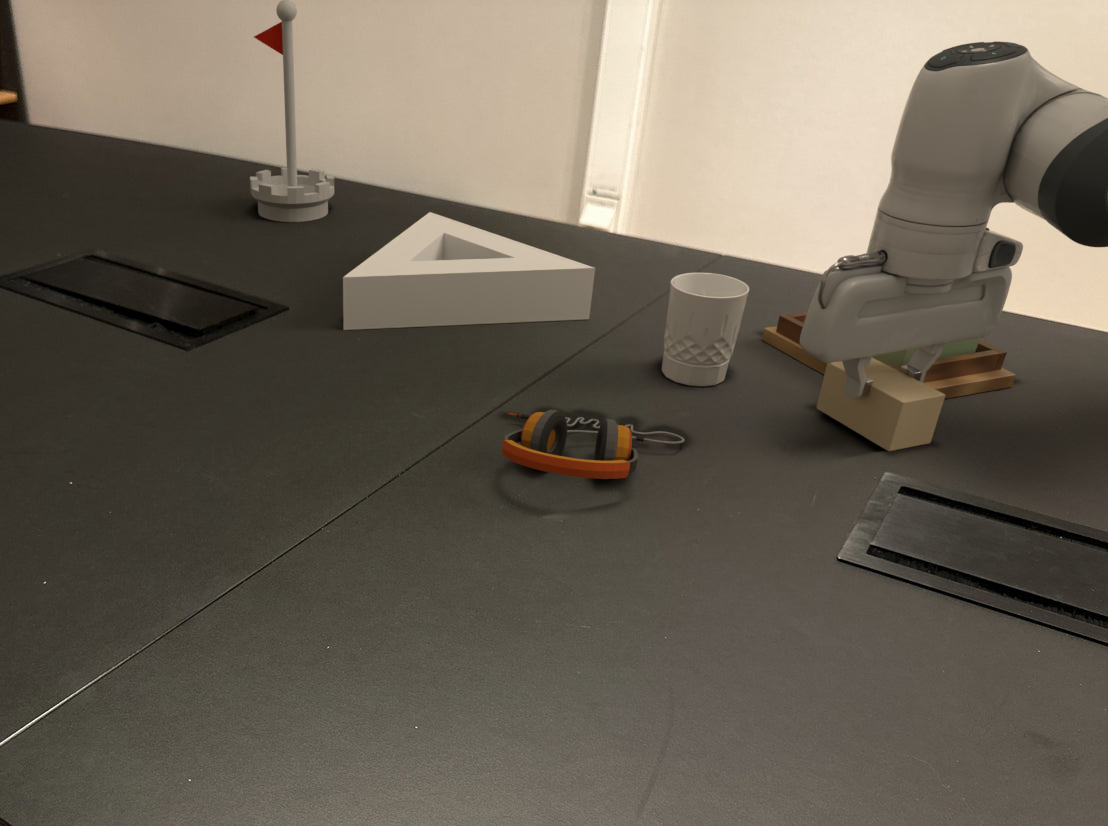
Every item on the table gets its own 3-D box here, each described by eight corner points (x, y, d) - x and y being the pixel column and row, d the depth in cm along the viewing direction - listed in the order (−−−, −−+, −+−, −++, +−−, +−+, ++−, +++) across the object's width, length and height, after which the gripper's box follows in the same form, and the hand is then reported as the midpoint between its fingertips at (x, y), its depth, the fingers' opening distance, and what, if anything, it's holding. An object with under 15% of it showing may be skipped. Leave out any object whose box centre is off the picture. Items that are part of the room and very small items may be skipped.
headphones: (692, 407, 100) (668, 453, 82) (682, 461, 102) (656, 516, 84) (522, 380, 105) (464, 417, 87) (515, 432, 107) (457, 478, 89)
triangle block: (428, 257, 147) (429, 212, 143) (613, 282, 139) (619, 234, 136) (343, 330, 123) (342, 277, 120) (560, 364, 115) (566, 308, 112)
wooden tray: (876, 323, 128) (884, 295, 126) (1011, 387, 112) (1022, 356, 110) (761, 339, 122) (767, 311, 121) (885, 409, 107) (895, 377, 105)
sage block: (935, 348, 117) (949, 305, 114) (971, 365, 113) (986, 320, 110) (864, 359, 114) (876, 315, 111) (898, 377, 110) (911, 332, 107)
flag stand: (344, 204, 170) (342, -4, 154) (321, 226, 159) (317, 5, 143) (267, 198, 172) (258, -7, 156) (239, 220, 161) (226, 1, 145)
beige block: (815, 408, 105) (827, 361, 102) (855, 401, 107) (868, 354, 104) (888, 451, 97) (903, 402, 95) (930, 443, 99) (946, 394, 96)
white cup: (644, 377, 113) (658, 287, 107) (672, 354, 118) (687, 267, 113) (715, 395, 109) (734, 303, 104) (741, 371, 114) (759, 282, 109)
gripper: (853, 269, 87) (816, 420, 94) (1038, 244, 93) (990, 388, 100) (803, 248, 92) (771, 393, 99) (981, 225, 98) (939, 363, 105)
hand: (882, 390), depth 100 cm, fingers closed on beige block, 5 cm apart
